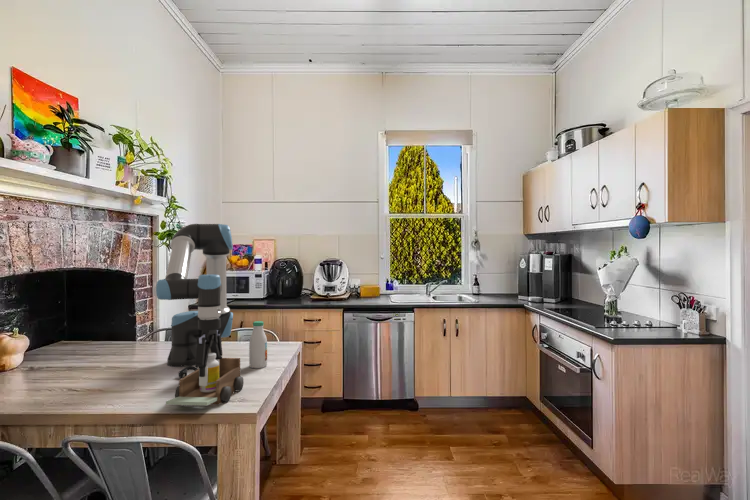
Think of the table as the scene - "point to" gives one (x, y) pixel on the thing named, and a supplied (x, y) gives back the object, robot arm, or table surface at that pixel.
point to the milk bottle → (258, 346)
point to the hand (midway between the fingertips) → (209, 381)
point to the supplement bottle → (211, 374)
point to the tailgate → (191, 401)
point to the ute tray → (224, 385)
